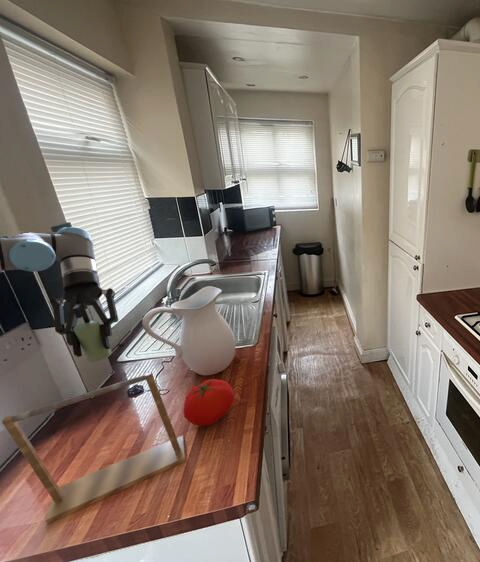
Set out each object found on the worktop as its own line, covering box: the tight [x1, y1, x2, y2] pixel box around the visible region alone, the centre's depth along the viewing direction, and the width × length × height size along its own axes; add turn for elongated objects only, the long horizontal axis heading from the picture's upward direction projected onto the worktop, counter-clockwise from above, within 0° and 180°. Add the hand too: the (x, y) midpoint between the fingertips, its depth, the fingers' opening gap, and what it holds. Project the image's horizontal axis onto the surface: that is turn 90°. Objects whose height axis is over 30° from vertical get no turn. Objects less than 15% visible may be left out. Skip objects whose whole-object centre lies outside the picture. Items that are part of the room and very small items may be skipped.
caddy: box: [73, 301, 112, 363], centre depth 83 cm, size 5×5×16 cm
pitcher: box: [142, 285, 236, 376], centre depth 103 cm, size 24×17×28 cm
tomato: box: [183, 378, 235, 427], centre depth 86 cm, size 13×12×11 cm
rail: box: [1, 371, 187, 525], centre depth 68 cm, size 25×8×25 cm, turn 123°
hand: (92, 351), depth 82 cm, fingers closed on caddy, 5 cm apart
